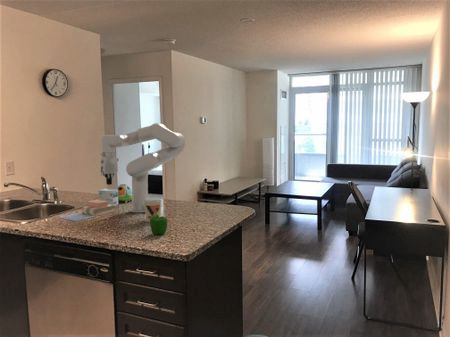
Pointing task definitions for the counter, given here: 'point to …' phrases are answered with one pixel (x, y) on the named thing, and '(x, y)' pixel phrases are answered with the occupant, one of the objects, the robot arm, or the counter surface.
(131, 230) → the counter surface
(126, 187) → the turtle holder
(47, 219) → the counter surface
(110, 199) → the light bulb box
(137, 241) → the counter surface
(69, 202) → the counter surface
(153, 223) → the bell pepper
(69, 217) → the mat
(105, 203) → the tile
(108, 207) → the deck
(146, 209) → the coffee cup
